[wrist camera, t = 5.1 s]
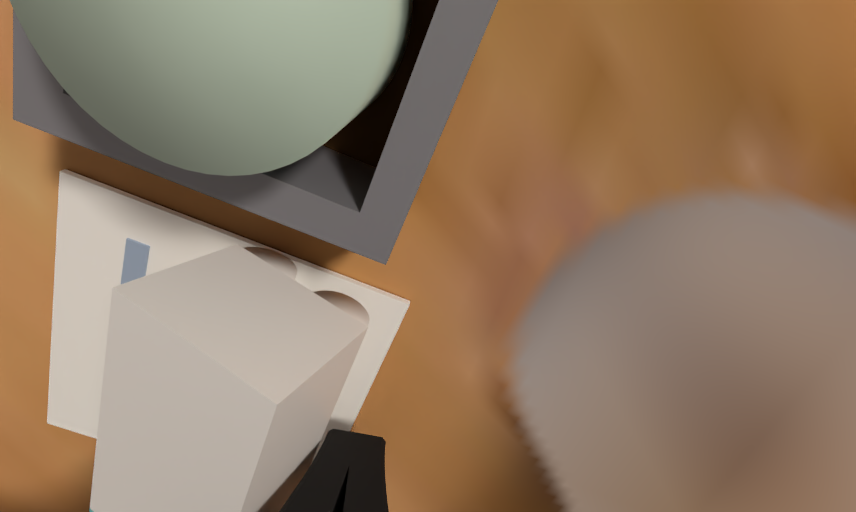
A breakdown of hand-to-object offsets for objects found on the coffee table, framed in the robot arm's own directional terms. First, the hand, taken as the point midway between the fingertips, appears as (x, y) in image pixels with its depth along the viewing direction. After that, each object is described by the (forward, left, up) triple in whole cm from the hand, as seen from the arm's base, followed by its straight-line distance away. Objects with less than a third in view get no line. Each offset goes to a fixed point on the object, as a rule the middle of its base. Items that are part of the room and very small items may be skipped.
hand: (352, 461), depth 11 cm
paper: (+4, 0, -1) cm, 4 cm away
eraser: (+2, 0, -1) cm, 2 cm away
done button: (+4, -9, -1) cm, 10 cm away
